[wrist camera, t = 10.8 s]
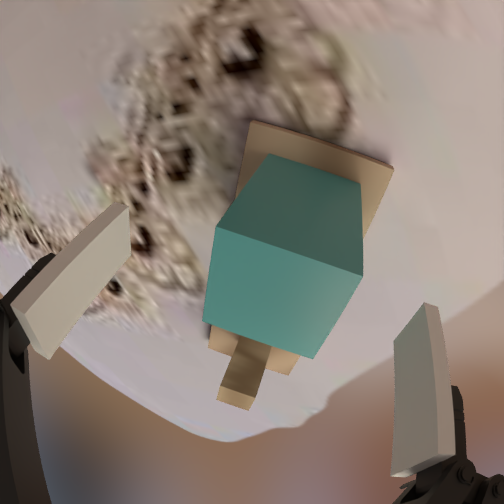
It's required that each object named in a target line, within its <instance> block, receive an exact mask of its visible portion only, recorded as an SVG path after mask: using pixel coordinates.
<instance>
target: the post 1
mask: <svg viewBox="0 0 504 504" xmlns="http://www.w3.org/2000/svg"><path fill="white" fill-rule="evenodd" d="M208 348H210V349H213V350H215V351H218V352H221V353H223V354H226V355H229V356H231V357H232V358H231V360H230V363H229V365H228V368H227V370H226V373H225V375H224V378H223V380H222V382H221V385H220V388H219V392H218V396H217V399H216V400H219V401H222V402H224V403H227V404H230V405H233V406H236V407H239V408H242V409H245V410H248V411H249V409H250V407H251V405H252V403H253V401H254V400H255V398H256V395H257V391H258V388H259V385H260V382H261V379H262V376H263V373H264V370H265V368H266V369H269V370H272V371H275V372H278V373H282V374H285V375H289V374H290V372H291V370H292V369H293V367H294V365H295V364H296V362H297V360H298V359H299V357H300V355H298V354H295V353H292V352H288V351H285V350H282V349H279V348H276V347H273V346H270V345H267V344H264V343H261V342H258V341H256V340H253V339H250V338H247V337H244V336H241V335H238V334H236V333H233V332H230V331H227V330H225V329H222V328H219V327H217V326H214V325H212V326H211V332H210V338H209V345H208Z"/></svg>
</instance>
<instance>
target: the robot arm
mask: <svg viewBox="0 0 504 504" xmlns="http://www.w3.org/2000/svg"><path fill="white" fill-rule="evenodd" d="M130 255H131V245H130V226H129V206H126V205H123V204H120V203H117V202H114V203H113V204H112V205H110V206H109V207H108V208H107V209H106V210H105V211H104V212H102V213H101V214H100V215H99V216H98V217H97V218H96V219H95V220H93V221H92V222H91V223H90V224H89V225H88V226H87V227H86V228H85V229H83V230H82V231H81V232H80V233H79V234H78V235H77V236H76V237H75V238H74V239H73V240H72V241H71V242H70V243H69V244H68V245H66V246H65V247H64V248H63V249H62V250H61V251H60V252H59V253H58V254H57V255H55V254H53V253H50V254H48V255H46V256H44V257H42V258H40V259H39V260H38V261H37V262H36V263H35V264H34V265H33V266H32V268H31V269H29V270H28V271H27V272H26V273H25V276H23V277H22V278H21V279H20V280H19V281H18V282H17V283H16V284H15V285H14V286H13V287H12V288H11V289H10V290H9V291H8V293H7V294H6V295H5V296H4V297H3V298H2V299H1V300H0V504H52V503H51V500H50V496H49V493H48V489H47V485H46V481H45V477H44V473H43V469H42V464H41V459H40V454H39V449H38V444H37V438H36V432H35V425H34V418H33V410H32V401H31V391H30V380H29V360H28V350H27V346H28V345H29V344H30V343H31V345H32V346H33V348H34V350H35V351H36V352H38V353H39V354H41V355H42V356H44V357H45V358H47V359H48V360H49V359H50V358H51V357H52V355H53V354H54V352H55V351H56V349H57V348H58V347H59V345H60V344H61V343H62V341H63V340H64V338H65V337H66V336H67V334H68V333H69V332H70V330H71V329H72V328H73V326H74V325H75V324H76V322H77V321H78V320H79V318H80V317H81V316H82V315H83V313H84V312H85V311H86V309H87V308H88V307H89V306H90V304H91V303H92V302H93V300H94V299H95V298H96V297H97V295H98V294H99V293H100V292H101V290H102V289H103V288H104V287H105V285H106V284H107V283H108V282H109V281H110V279H111V278H112V277H113V276H114V274H115V273H116V272H117V271H118V270H119V268H120V267H121V266H122V265H123V264H124V262H125V261H126V260H127V259H128V258H129V257H130ZM394 366H395V408H394V436H393V451H392V465H391V475H390V476H395V477H409V476H411V475H413V474H416V473H417V475H416V480H413V481H411V482H408V483H406V484H403V485H402V486H401V487H400V489H403V488H405V487H407V488H406V489H405V490H404V492H403V493H402V494H401V495H400V496H399V497H398V498H397V499H396V500H395V502H393V504H504V476H503V475H500V474H497V475H494V476H492V477H490V478H487V477H485V476H483V475H481V474H479V473H476V469H475V466H474V464H473V463H472V462H471V461H470V460H468V459H467V455H466V435H465V423H464V413H463V410H464V409H463V400H462V396H461V394H460V391H459V389H458V387H457V386H452V385H451V382H450V374H449V366H448V360H447V353H446V347H445V341H444V335H443V330H442V324H441V319H440V314H439V310H438V307H436V306H433V305H430V304H427V303H423V305H422V306H421V307H420V309H419V310H418V311H417V312H416V314H415V315H414V316H413V318H412V319H411V320H410V321H409V323H408V324H407V325H406V326H405V328H404V329H403V330H402V331H401V333H400V334H399V335H398V336H397V338H396V339H395V340H394Z"/></svg>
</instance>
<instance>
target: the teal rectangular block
mask: <svg viewBox="0 0 504 504" xmlns="http://www.w3.org/2000/svg"><path fill="white" fill-rule="evenodd" d="M362 278H363V223H362V199H361V184H360V183H357V182H354V181H351V180H349V179H346V178H343V177H340V176H338V175H335V174H332V173H329V172H326V171H323V170H320V169H317V168H314V167H311V166H308V165H305V164H302V163H299V162H296V161H293V160H289V159H286V158H283V157H280V156H276V155H273V154H270V153H269V154H268V155H267V157H266V158H265V159H264V161H263V162H262V163H261V165H260V166H259V167H258V169H257V170H256V172H255V173H254V174H253V176H252V177H251V178H250V180H249V181H248V182H247V184H246V185H245V187H244V188H243V189H242V191H241V192H240V193H239V195H238V196H237V198H236V199H235V200H234V202H233V203H232V205H231V206H230V207H229V209H228V210H227V211H226V213H225V214H224V216H223V217H222V219H221V220H220V221H219V223H218V224H217V226H216V229H215V235H214V242H213V248H212V255H211V262H210V268H209V275H208V282H207V290H206V297H205V304H204V312H203V319H202V321H203V322H206V323H209V324H211V325H214V326H217V327H219V328H222V329H225V330H227V331H230V332H233V333H236V334H238V335H241V336H244V337H247V338H250V339H253V340H256V341H258V342H261V343H264V344H267V345H270V346H273V347H276V348H279V349H282V350H285V351H288V352H292V353H295V354H298V355H301V356H304V357H307V358H311V359H313V358H314V357H315V355H316V354H317V352H318V350H319V349H320V347H321V346H322V344H323V343H324V341H325V340H326V338H327V336H328V335H329V333H330V332H331V330H332V328H333V327H334V325H335V324H336V322H337V320H338V319H339V317H340V315H341V314H342V312H343V310H344V309H345V307H346V305H347V304H348V302H349V300H350V298H351V297H352V295H353V293H354V292H355V290H356V288H357V286H358V285H359V283H360V281H361V279H362Z"/></svg>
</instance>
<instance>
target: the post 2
mask: <svg viewBox="0 0 504 504" xmlns="http://www.w3.org/2000/svg"><path fill="white" fill-rule="evenodd" d="M269 153H270V154H273V155H276V156H280V157H283V158H286V159H289V160H293V161H296V162H299V163H302V164H305V165H308V166H311V167H314V168H317V169H320V170H323V171H326V172H329V173H332V174H335V175H338V176H340V177H343V178H346V179H349V180H351V181H354V182H357V183H360V184H361V199H362V223H363V238H364V236H365V234H366V232H367V230H368V228H369V226H370V224H371V221H372V219H373V217H374V215H375V213H376V211H377V208H378V206H379V204H380V202H381V200H382V197H383V195H384V193H385V191H386V188H387V186H388V184H389V181H390V179H391V177H392V174H393V172H394V168H393V166H391V165H388V164H386V163H383V162H381V161H378V160H376V159H373V158H370V157H368V156H365V155H362V154H360V153H357V152H354V151H352V150H349V149H346V148H343V147H340V146H337V145H334V144H332V143H329V142H326V141H323V140H320V139H317V138H313V137H310V136H307V135H304V134H301V133H297V132H294V131H291V130H287V129H284V128H281V127H277V126H274V125H270V124H266V123H263V122H259V121H255V120H253V121H251V122H250V126H249V130H248V135H247V140H246V145H245V150H244V155H243V159H242V164H241V169H240V174H239V179H238V184H237V189H236V195H235V199H236V198H237V196H238V195H239V193H240V192H241V191H242V189H243V188H244V187H245V185H246V184H247V182H248V181H249V180H250V178H251V177H252V176H253V174H254V173H255V172H256V170H257V169H258V167H259V166H260V165H261V163H262V162H263V161H264V159H265V158H266V157H267V155H268V154H269Z"/></svg>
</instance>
